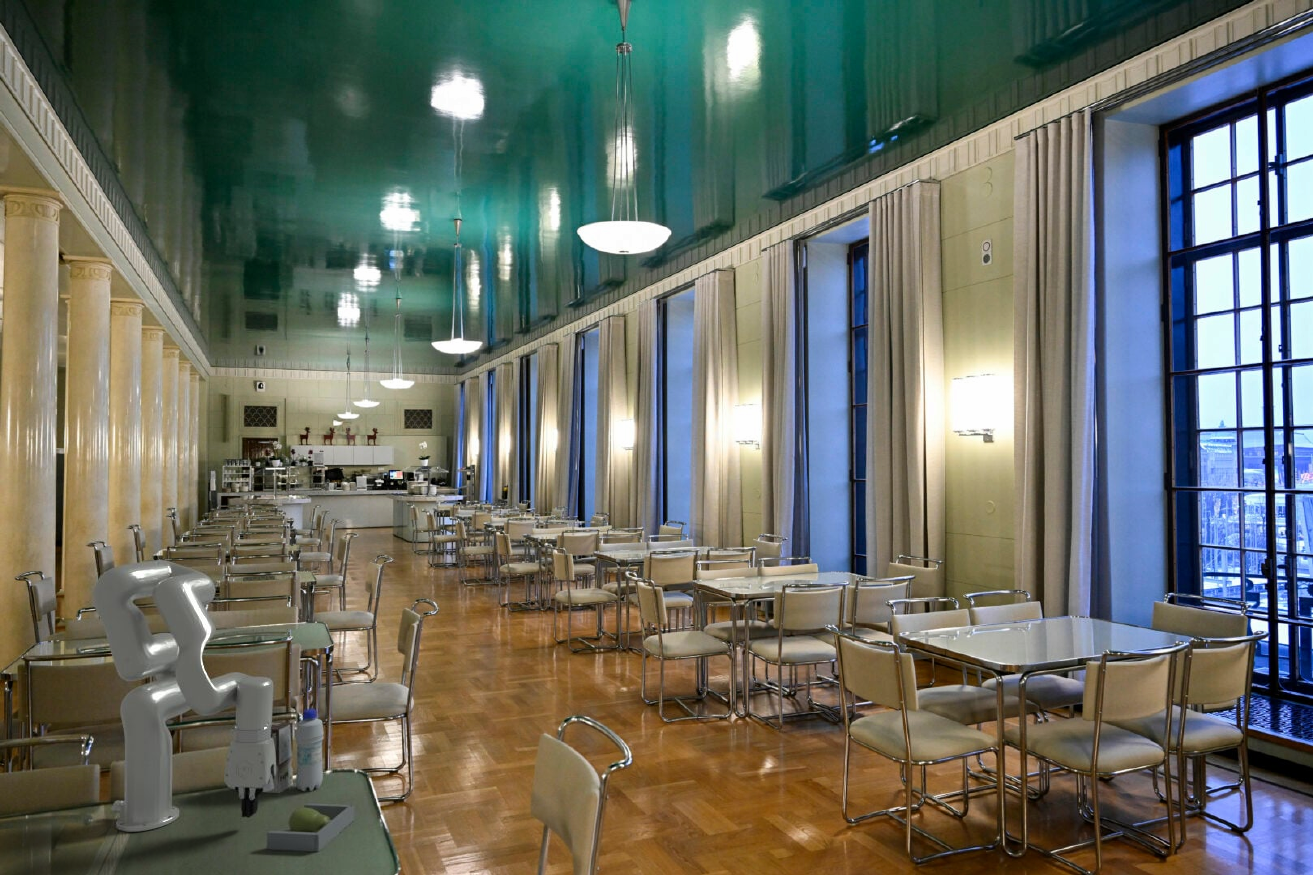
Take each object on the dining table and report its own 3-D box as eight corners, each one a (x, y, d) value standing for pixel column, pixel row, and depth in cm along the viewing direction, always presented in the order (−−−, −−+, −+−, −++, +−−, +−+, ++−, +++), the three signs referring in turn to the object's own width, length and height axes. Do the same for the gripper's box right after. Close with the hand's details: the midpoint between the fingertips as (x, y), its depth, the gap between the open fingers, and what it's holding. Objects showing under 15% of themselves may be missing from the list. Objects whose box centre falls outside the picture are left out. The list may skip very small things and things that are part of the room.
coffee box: (294, 784, 219) (294, 721, 220) (279, 793, 213) (279, 729, 214) (262, 782, 221) (262, 720, 221) (246, 791, 215) (246, 727, 215)
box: (267, 849, 182) (267, 832, 182) (306, 818, 198) (306, 803, 198) (318, 851, 181) (318, 834, 181) (354, 820, 196) (354, 805, 197)
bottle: (313, 793, 213) (313, 713, 213) (289, 792, 214) (290, 712, 215) (328, 784, 219) (329, 706, 220) (305, 782, 221) (306, 704, 221)
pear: (300, 801, 194) (340, 811, 192) (296, 824, 194) (336, 834, 192) (285, 810, 188) (326, 821, 187) (282, 834, 188) (322, 845, 187)
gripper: (212, 736, 190) (207, 818, 189) (274, 741, 188) (270, 824, 188) (232, 725, 197) (228, 805, 197) (293, 730, 196) (289, 811, 195)
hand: (249, 814), depth 192 cm, fingers closed
